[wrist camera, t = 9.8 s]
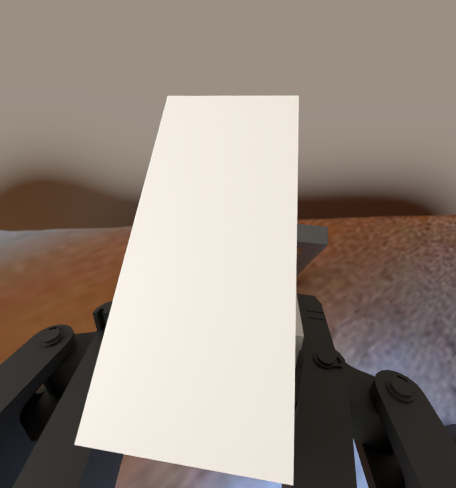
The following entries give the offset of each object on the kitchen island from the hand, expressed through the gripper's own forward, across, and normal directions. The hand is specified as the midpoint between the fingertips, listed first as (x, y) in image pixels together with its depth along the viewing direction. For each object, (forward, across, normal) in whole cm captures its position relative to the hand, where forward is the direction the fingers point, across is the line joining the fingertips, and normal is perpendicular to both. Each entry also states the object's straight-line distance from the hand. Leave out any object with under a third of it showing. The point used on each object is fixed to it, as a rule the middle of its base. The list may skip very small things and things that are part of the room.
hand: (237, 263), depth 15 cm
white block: (+3, 0, -6) cm, 7 cm away
